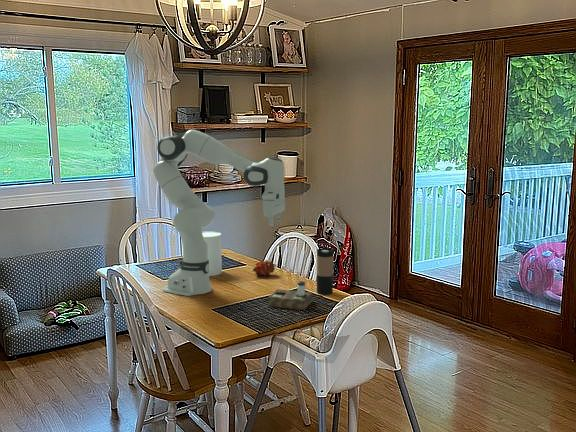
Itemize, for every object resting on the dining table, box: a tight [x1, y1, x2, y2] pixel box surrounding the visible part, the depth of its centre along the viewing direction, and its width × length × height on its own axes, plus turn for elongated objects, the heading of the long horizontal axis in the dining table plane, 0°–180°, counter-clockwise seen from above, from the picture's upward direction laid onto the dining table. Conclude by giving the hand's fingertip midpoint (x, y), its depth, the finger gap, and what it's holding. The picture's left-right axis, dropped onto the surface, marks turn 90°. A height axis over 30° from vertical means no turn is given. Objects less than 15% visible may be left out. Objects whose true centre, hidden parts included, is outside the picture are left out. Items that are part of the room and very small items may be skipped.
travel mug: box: [316, 247, 335, 296], centre depth 275 cm, size 8×8×20 cm
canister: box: [202, 231, 223, 277], centre depth 308 cm, size 14×14×20 cm
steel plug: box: [296, 280, 306, 298], centre depth 258 cm, size 3×3×10 cm
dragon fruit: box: [252, 259, 276, 277], centre depth 304 cm, size 8×8×12 cm
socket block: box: [267, 288, 313, 311], centre depth 260 cm, size 16×12×4 cm
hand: (274, 223), depth 275 cm, fingers open, 8 cm apart
